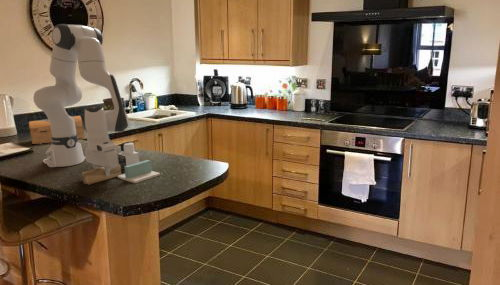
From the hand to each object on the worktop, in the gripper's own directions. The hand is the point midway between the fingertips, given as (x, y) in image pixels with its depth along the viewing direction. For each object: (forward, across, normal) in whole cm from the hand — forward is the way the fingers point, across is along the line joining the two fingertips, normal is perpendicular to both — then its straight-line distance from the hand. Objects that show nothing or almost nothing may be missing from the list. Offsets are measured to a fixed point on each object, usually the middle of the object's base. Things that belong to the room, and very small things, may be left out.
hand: (102, 174), depth 183 cm
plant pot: (+2, -131, +89) cm, 158 cm away
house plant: (+2, -106, +66) cm, 125 cm away
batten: (+2, 0, 0) cm, 2 cm away
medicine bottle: (+2, -5, +17) cm, 18 cm away
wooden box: (+2, -99, +27) cm, 102 cm away
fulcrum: (+2, +11, +11) cm, 16 cm away
